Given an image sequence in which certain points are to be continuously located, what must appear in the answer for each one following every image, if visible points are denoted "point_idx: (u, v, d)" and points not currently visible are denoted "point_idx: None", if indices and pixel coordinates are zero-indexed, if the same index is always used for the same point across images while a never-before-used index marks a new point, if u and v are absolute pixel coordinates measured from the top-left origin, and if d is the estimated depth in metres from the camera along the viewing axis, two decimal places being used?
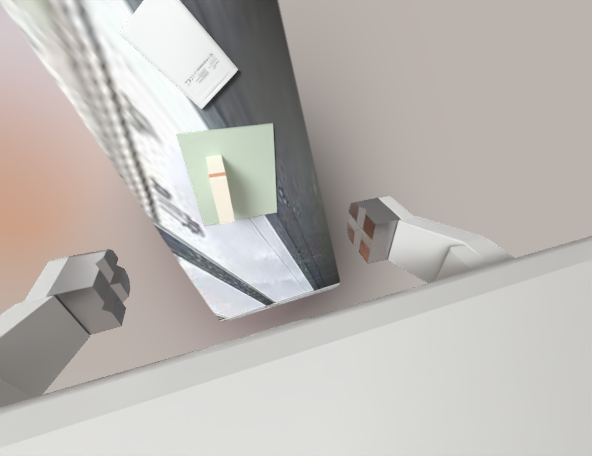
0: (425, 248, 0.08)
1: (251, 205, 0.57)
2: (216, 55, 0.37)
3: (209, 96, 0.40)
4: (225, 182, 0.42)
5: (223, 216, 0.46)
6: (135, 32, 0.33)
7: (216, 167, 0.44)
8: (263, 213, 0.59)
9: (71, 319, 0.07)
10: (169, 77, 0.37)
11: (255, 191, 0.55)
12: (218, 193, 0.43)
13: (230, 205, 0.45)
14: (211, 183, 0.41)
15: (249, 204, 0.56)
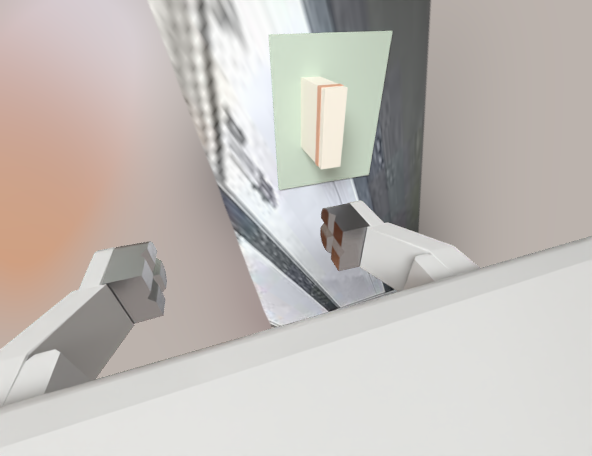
0: (394, 256, 0.08)
1: (341, 161, 0.43)
2: None
3: None
4: (344, 94, 0.29)
5: (328, 156, 0.32)
6: None
7: (323, 82, 0.31)
8: (352, 175, 0.45)
9: (119, 307, 0.07)
10: None
11: (350, 140, 0.41)
12: (331, 113, 0.29)
13: (341, 137, 0.31)
14: (326, 93, 0.28)
15: None
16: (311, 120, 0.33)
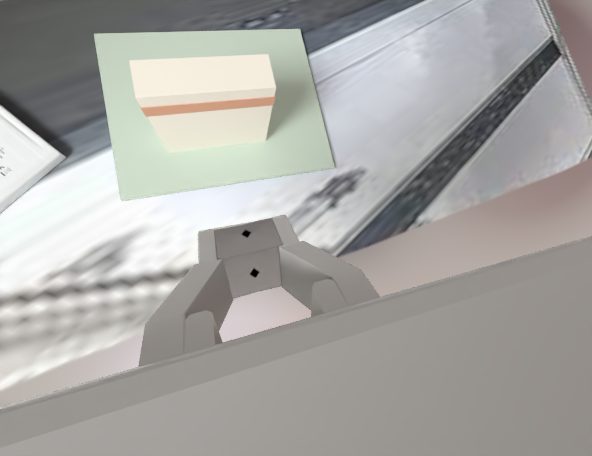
0: (305, 278, 0.07)
1: (282, 76, 0.28)
2: None
3: (31, 137, 0.22)
4: (141, 64, 0.17)
5: (250, 77, 0.18)
6: None
7: None
8: (303, 54, 0.29)
9: (227, 282, 0.08)
10: None
11: None
12: (175, 81, 0.17)
13: (215, 59, 0.18)
14: (142, 94, 0.17)
15: (280, 80, 0.28)
16: (211, 124, 0.21)
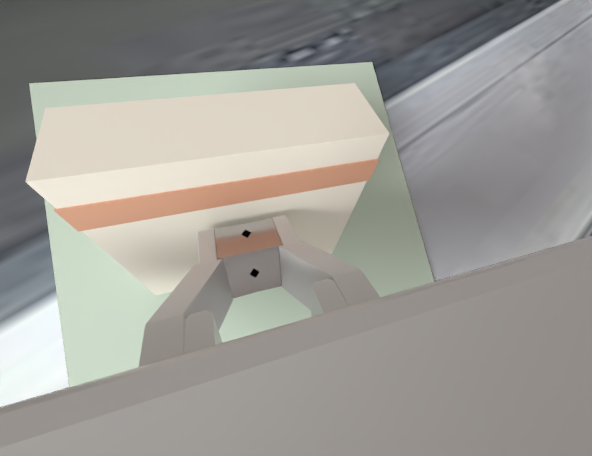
0: (305, 278, 0.07)
1: None
2: None
3: None
4: (72, 112, 0.07)
5: (328, 120, 0.08)
6: None
7: None
8: (378, 104, 0.18)
9: (227, 282, 0.08)
10: None
11: None
12: (150, 138, 0.07)
13: (247, 95, 0.08)
14: (50, 172, 0.06)
15: None
16: None
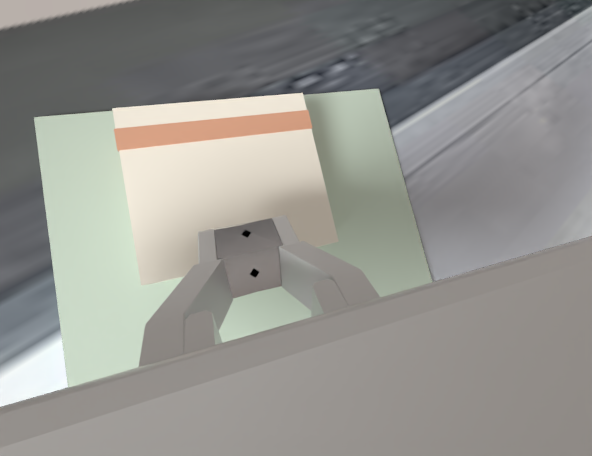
0: (305, 278, 0.07)
1: (356, 171, 0.17)
2: None
3: None
4: None
5: None
6: None
7: None
8: (385, 131, 0.18)
9: (227, 282, 0.08)
10: None
11: None
12: None
13: None
14: None
15: (352, 178, 0.17)
16: (224, 177, 0.12)
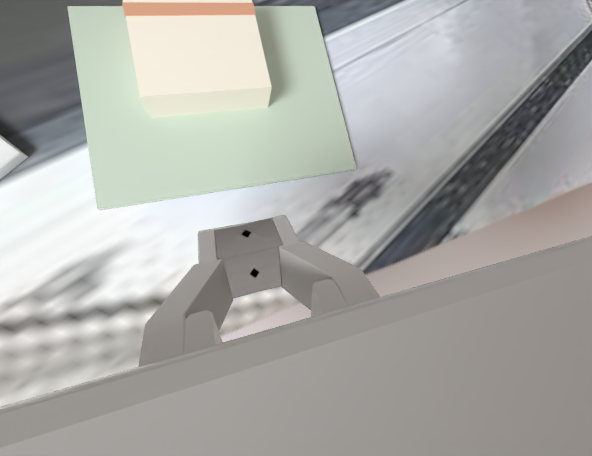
0: (305, 278, 0.07)
1: (295, 61, 0.23)
2: None
3: None
4: None
5: None
6: None
7: None
8: (318, 35, 0.24)
9: (227, 282, 0.08)
10: None
11: None
12: None
13: None
14: None
15: (292, 65, 0.23)
16: (194, 39, 0.19)
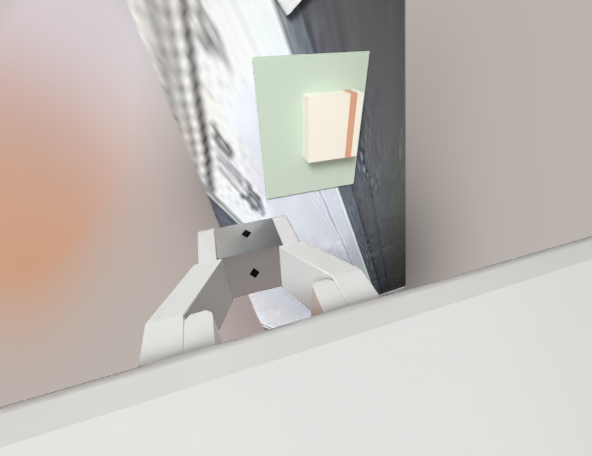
0: (305, 278, 0.07)
1: (325, 172, 0.45)
2: None
3: None
4: None
5: None
6: None
7: (333, 92, 0.36)
8: (337, 184, 0.47)
9: (227, 282, 0.08)
10: None
11: None
12: None
13: None
14: (363, 95, 0.37)
15: (323, 170, 0.45)
16: (335, 127, 0.38)
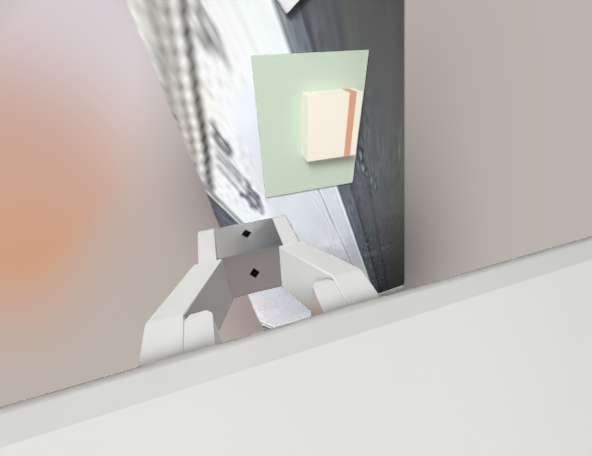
0: (305, 278, 0.07)
1: (325, 170, 0.45)
2: None
3: None
4: None
5: None
6: None
7: (332, 91, 0.36)
8: (336, 183, 0.47)
9: (227, 282, 0.08)
10: None
11: None
12: None
13: None
14: (362, 94, 0.37)
15: (322, 169, 0.45)
16: (334, 126, 0.38)
